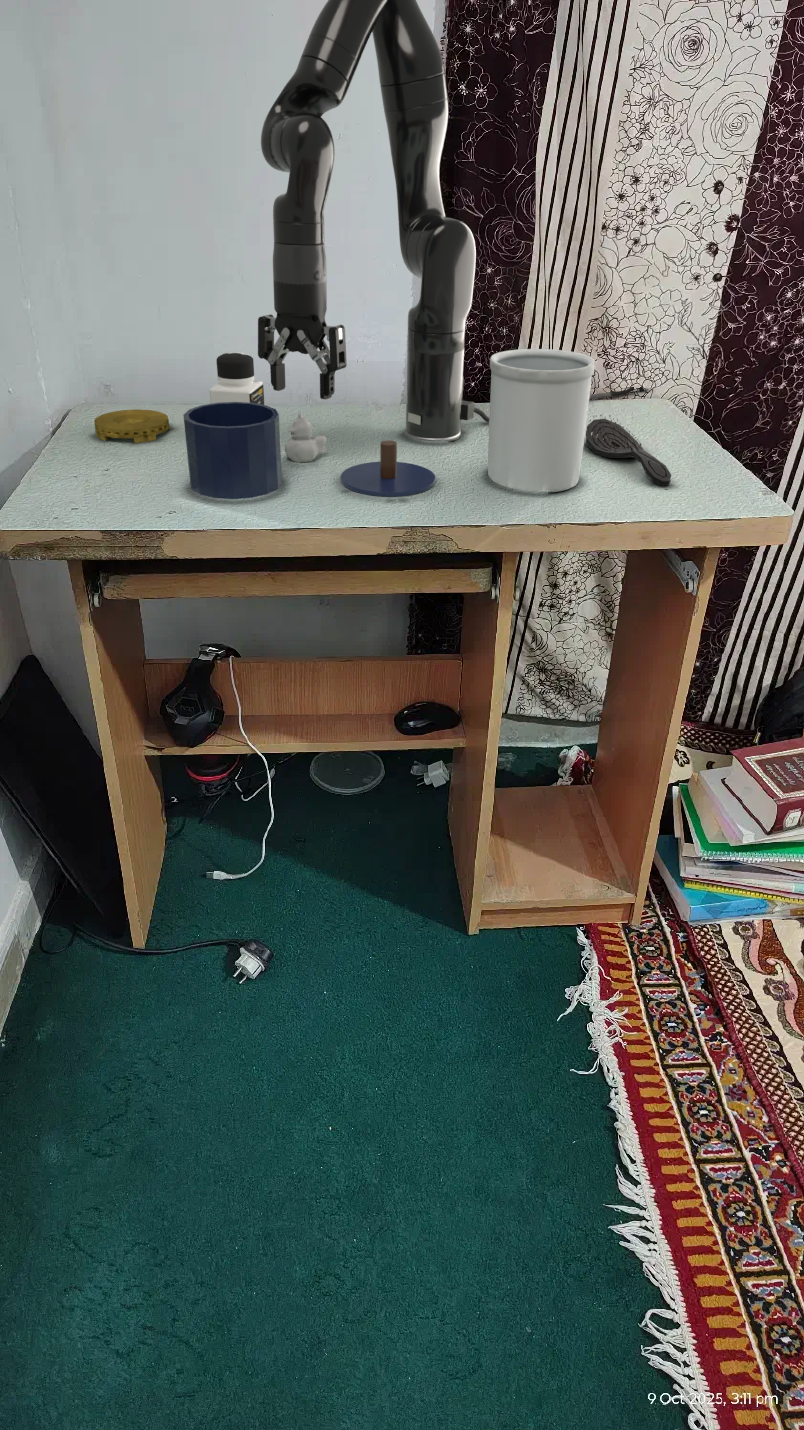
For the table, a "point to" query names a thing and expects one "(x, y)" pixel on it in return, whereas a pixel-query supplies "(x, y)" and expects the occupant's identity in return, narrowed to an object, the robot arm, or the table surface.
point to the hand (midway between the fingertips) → (302, 394)
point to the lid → (388, 475)
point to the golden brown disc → (131, 425)
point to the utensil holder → (538, 418)
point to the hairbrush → (624, 448)
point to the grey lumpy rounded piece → (304, 442)
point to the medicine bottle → (236, 380)
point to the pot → (233, 449)
